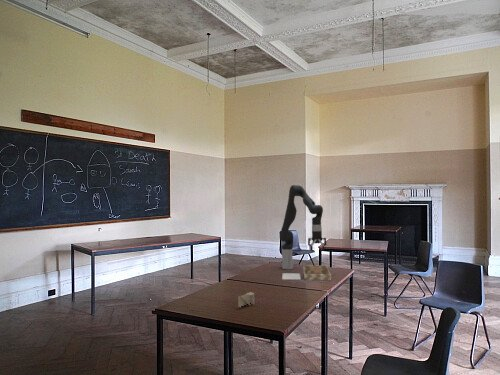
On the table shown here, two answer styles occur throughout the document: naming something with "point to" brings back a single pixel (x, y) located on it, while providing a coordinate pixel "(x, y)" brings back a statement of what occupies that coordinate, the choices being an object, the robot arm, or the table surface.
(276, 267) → the table surface
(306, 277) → the frame
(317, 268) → the terracotta pot
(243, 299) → the model
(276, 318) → the table surface
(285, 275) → the grey mat
